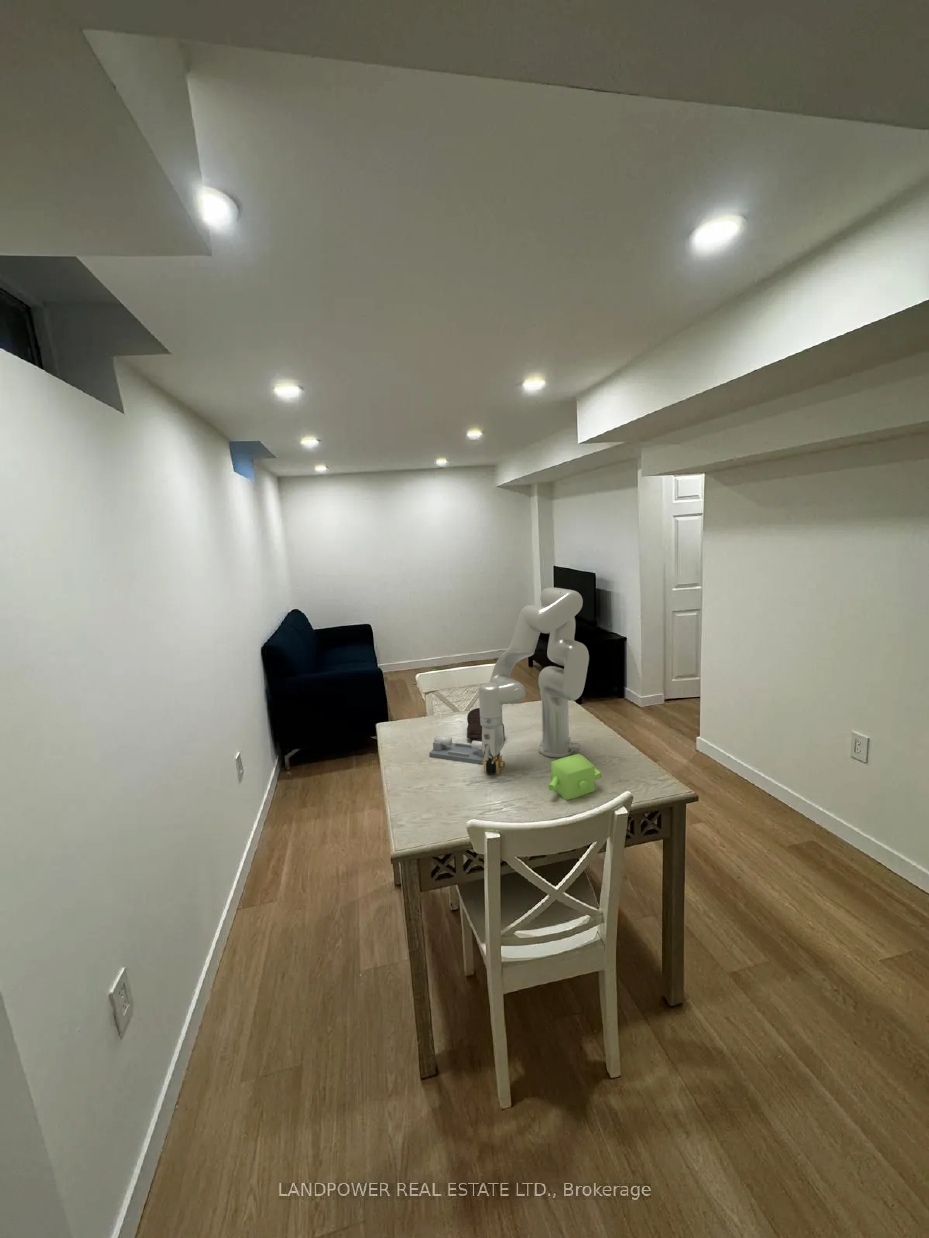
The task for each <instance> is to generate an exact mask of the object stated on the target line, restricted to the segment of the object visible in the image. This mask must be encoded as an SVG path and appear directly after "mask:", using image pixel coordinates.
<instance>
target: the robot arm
mask: <svg viewBox="0 0 929 1238" xmlns="http://www.w3.org/2000/svg"><path fill="white" fill-rule="evenodd" d="M583 601H584V599H583V597H582V595H581V593H579V592H578V591H576V590H574V589H573V590H572V589H567V588H562V587H546V588H544V589H543V590H542V591H541V593H540V603H541V605H542V606H541V605H535V604H530V605H529V604H528V605H525V606H524V607H522V609H521V611H520V613H519V616H518V619H517V622H516V625H515V628H514V632H513V635H512V637H511V642H510V645H509V646H508V648H507V649H506V650H505V651H504V652H503V653H502V654H501V655H500V656H499V658H498V659H497V661H496V662H495V664H494V667H493V668H492V669H493V670H492V673H491V675H490V681H489V682H483V683H482V684H481V685H479V687H478V701H479V708H480V724H481V726H482V740H481V742H482V752H483V754H484V760H485V763H486V773H485V774H489V775H495V773H496V768H495V763H494V756H497V755H501V751H502V749H503V748H504V746H505V739H504V734H503V725H502V724H504V723H503V722H504V721H503V705H514V704H519V703H521V701H523V700H524V698H525V697H526V695H527V694H526V693H527V690H526V687H525V686H524V685H523V683H521V682H519V681H517V680H514V679H513V678H510V676H511V673H512V671H513V668H514V667H515V665H516V664H517V663H519V662H520V661H521V660H524V659H526V658H529V657H531V656H533V655H534V654H535V650H536V648H537V645H538V641H539V637H540V635H541V633H542V634H549V637H548V643H547V653H546V655H547V658H548V659H549V661H551V662H552V663H554V664H557V665H558V666H563V667H564V668H561V667H558V666H555V665H554V666H552V665H549V666H545V667H544V668H543V669H542V670H540V672H539V674H538V681H537V682H538V687H539V693H540V698H541V699H540V700H541V732H542V738H541V739H542V742H541V743H539V744H538V752H539V753H540V754H541V755H543V756H546V757H549V758H558V759H560V758H564V757H567V756H571V754H572V755H573V753H574V750H576V751H581V750H582V744H579V743H580V742H579V741H573V740H572V737H571V736H570V729H569V728H570V726H569V725H570V724H569V718H570V717H569V716H570V715H569V709H570V708H569V701H570V702H572V701H576V700H578V699H579V698H580V697H581V696H582V694H583V692H584V688H585V684H586V680H587V674H588V667H589V663H590V662H589V661H590V655H589V650H588V648H587V646H586V645H585V644H584V643H582V642H579V641H577V640H575V634H576V618H575V617H576V615H577V614H579V612H580V611H581V610H582V608H583V603H584V602H583ZM490 752H491V754H489V753H490ZM489 756H492V759H491V758H489Z"/></svg>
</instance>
